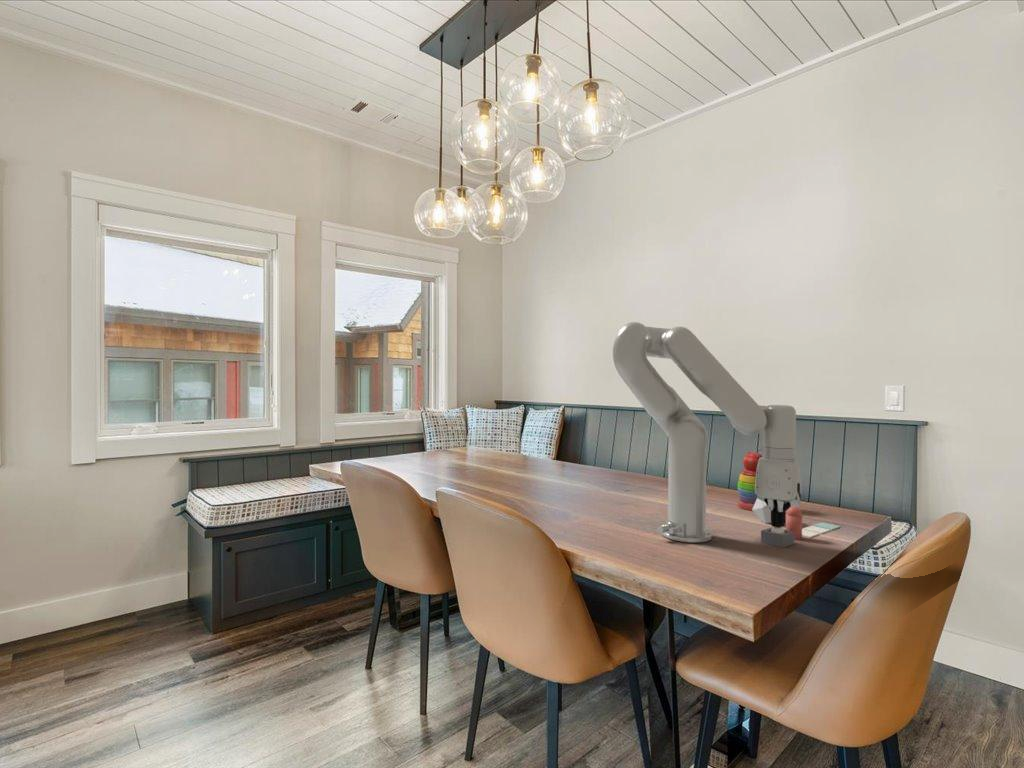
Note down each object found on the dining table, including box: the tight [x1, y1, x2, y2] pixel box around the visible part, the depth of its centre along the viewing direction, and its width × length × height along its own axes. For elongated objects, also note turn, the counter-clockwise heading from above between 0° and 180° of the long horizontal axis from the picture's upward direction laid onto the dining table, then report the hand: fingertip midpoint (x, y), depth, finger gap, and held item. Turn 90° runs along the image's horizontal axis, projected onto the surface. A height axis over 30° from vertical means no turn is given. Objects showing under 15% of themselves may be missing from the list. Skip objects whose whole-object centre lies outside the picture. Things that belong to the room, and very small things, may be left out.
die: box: [751, 498, 787, 525], centre depth 159 cm, size 8×9×10 cm
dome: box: [771, 526, 785, 534], centre depth 139 cm, size 3×3×4 cm
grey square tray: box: [760, 526, 795, 549], centre depth 139 cm, size 6×6×3 cm
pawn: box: [785, 506, 803, 541], centre depth 143 cm, size 4×4×8 cm
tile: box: [812, 521, 841, 531], centre depth 154 cm, size 5×5×1 cm
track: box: [802, 525, 831, 538], centre depth 149 cm, size 11×5×1 cm, turn 126°
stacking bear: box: [737, 451, 763, 511], centre depth 175 cm, size 11×10×18 cm
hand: (778, 525), depth 139 cm, fingers closed
